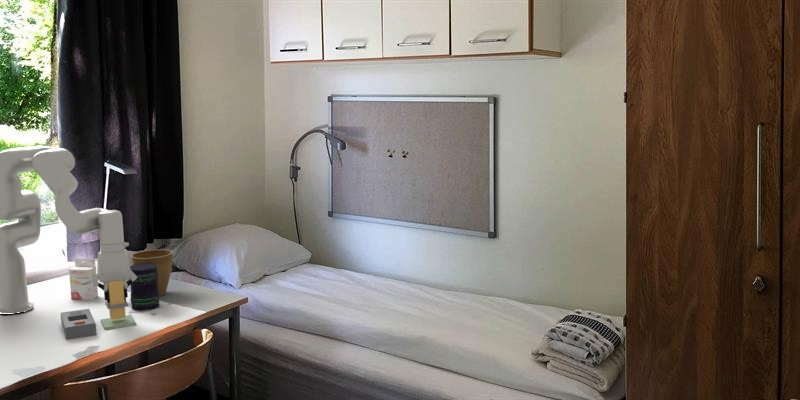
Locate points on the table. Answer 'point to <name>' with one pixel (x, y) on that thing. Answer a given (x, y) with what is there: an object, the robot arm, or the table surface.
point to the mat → (118, 322)
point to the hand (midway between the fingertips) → (116, 300)
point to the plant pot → (163, 265)
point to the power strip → (78, 324)
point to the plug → (116, 300)
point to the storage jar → (144, 287)
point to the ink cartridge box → (83, 280)
